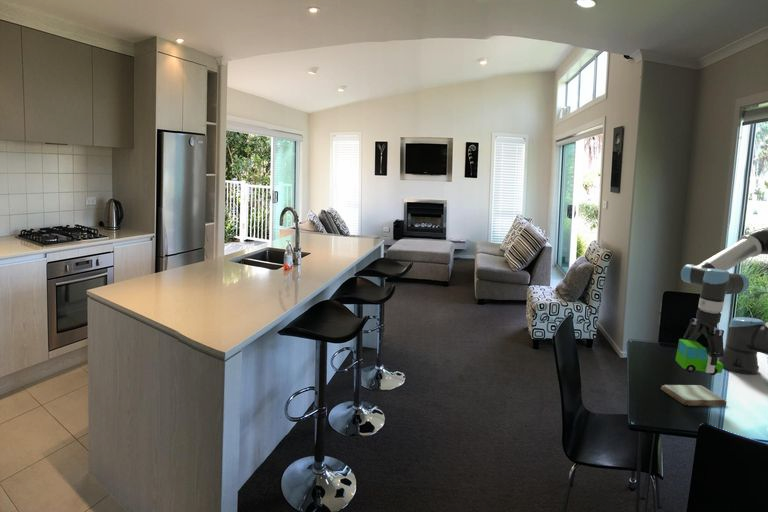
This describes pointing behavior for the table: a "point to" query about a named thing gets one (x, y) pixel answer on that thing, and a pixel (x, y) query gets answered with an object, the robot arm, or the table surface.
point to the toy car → (694, 357)
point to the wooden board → (693, 395)
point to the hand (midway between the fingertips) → (698, 366)
